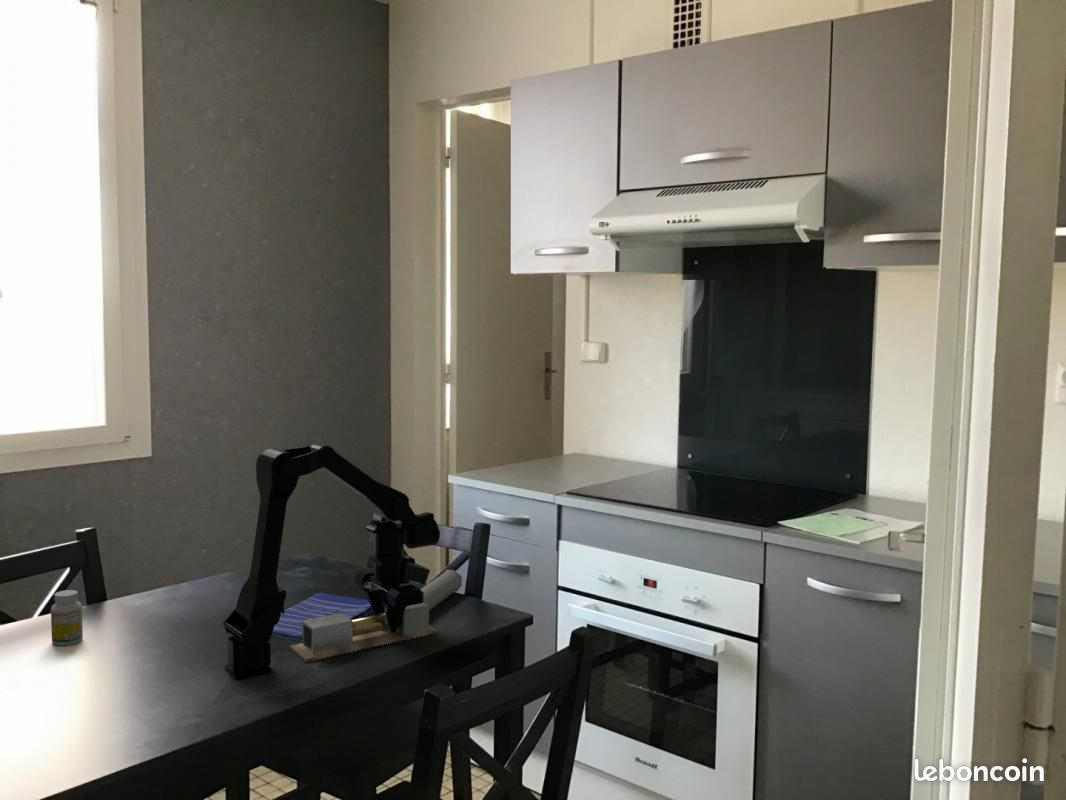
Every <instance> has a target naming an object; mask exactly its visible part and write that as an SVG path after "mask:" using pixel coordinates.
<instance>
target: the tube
mask: <svg viewBox="0 0 1066 800" xmlns="http://www.w3.org/2000/svg"><path fill="white" fill-rule="evenodd" d="M462 580H463V578H462V575H460V573H459V572H457V571H456V570H452V569H445V571H444V572H443V573H442V574H440V575H439V576H438V577H436V578H434V580H431V581H430V582H429V583H428V584H427V583H426V584H425V585H424V587H422V588H419V589H420V590H421V591H422V592H423V593H424V603H426V604H427V605H429V612H430V611H433V609H435V608H436V607H437V606H439V605H440V604H441V603H442V602H444V601H445V600H446V599H447V598H449V597H450V596H451V595H453V594H454V593H456V592H458V591H459V589H460V588H461V587H462V585H463V584H462V583H463V581H462ZM452 593H453V594H452ZM450 594H451V595H450ZM449 595H450V596H449ZM448 596H449V597H448ZM444 599H445V600H444ZM439 603H440V604H439Z"/></svg>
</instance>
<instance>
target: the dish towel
mask: <svg viewBox="0 0 1066 800" xmlns="http://www.w3.org/2000/svg"><path fill="white" fill-rule="evenodd" d="M284 612H285V613H284V614H283V613H281V617H280V620H279V622H278V624H276V625H275V626H274V629H273V632H272V635H271V637H277V638H281V639H288V640H292V639H293V641H298V640H299V641H298V642H302V621H303V620H308V619H314V618H319V617H324V616H329V615H334V614H340V613H342V614H343V615H345V616H346V617H348V618H349V619H351V620H354V619H359V618H363V617H365V616H366V615H368V614H370V613H373V610H372V608H371V606H370V604H369V602H368V600H367V598H366V599H365V598H364V599H363V598H361V599H360V598H353V597H349V596H343V595H341V596H339V595H335V594H330V593H321V592H316V593H315V594H312V596H310V597H309V598H307V599H305V600H303V601H300V602H298V603H297V604H295V605H293V606H290V607H288V608H287V609H284ZM373 614H374V613H373Z"/></svg>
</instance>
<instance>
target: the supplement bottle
mask: <svg viewBox="0 0 1066 800" xmlns="http://www.w3.org/2000/svg"><path fill="white" fill-rule="evenodd" d="M78 599H79V592H78V591H77V590H72V589H67V590H66V589H65V590H61V591H57V592H55V593H54V600H53V601H54V602H55V603H54V604H52V606H51V607H50V621H51V625H50V627H51V628H50V629H51V643H52V644H53V645H54V646H58V647H64V646H67V645H68V646H72V645H76V644H78V643H80V642H81V641H82V640H83V638H84V636H83V634H84V633H83V627H84V626H83V605H82V603H81V602H80V601H78Z"/></svg>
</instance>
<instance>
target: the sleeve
mask: <svg viewBox="0 0 1066 800" xmlns="http://www.w3.org/2000/svg"><path fill="white" fill-rule="evenodd" d="M301 643H302V646H303V647H304V648H305V649H307V650H308V651H309V652H310V653H312V654H313V655H314V654H318V653H323V652H327V651H332V650H337V649H341V648H346V647H350V646H353V621H352V620H351V619H349V618H348V617H346V616H345V615H343V614H342V613H340V614H334V615H329V616H324V617H319V618H314V619H308V620H303V621H302V641H301Z"/></svg>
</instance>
